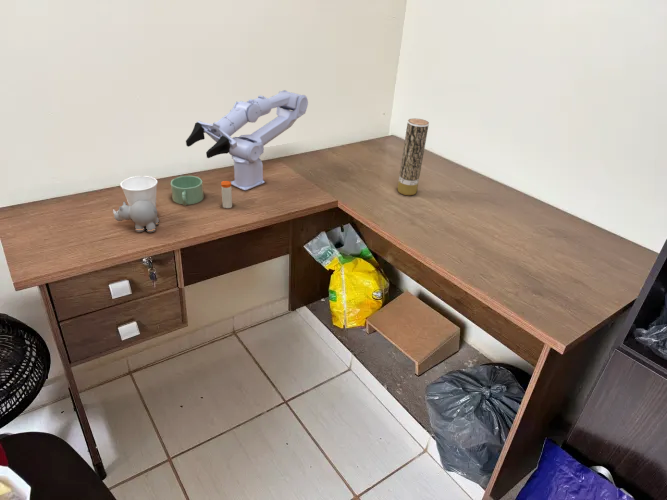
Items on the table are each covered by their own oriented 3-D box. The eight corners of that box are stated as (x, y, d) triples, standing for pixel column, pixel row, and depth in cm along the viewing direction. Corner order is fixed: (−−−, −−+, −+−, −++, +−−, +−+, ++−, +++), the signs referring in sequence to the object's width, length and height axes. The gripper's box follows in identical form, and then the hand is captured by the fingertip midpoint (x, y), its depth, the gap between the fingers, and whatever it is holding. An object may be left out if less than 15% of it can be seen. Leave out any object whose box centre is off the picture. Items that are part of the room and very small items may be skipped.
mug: (175, 190, 157) (173, 175, 154) (205, 191, 158) (204, 175, 155) (168, 208, 147) (166, 192, 144) (201, 208, 148) (199, 192, 145)
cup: (119, 219, 140) (112, 184, 134) (144, 206, 147) (139, 172, 141) (144, 228, 136) (138, 193, 130) (169, 214, 144) (165, 180, 138)
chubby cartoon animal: (121, 220, 139) (116, 193, 135) (163, 222, 140) (159, 196, 135) (111, 232, 133) (105, 205, 129) (155, 235, 133) (150, 208, 129)
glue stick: (227, 203, 152) (226, 179, 148) (234, 206, 151) (233, 182, 147) (220, 206, 150) (218, 182, 146) (227, 209, 149) (225, 185, 145)
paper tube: (416, 188, 171) (428, 119, 157) (416, 197, 165) (429, 126, 152) (397, 186, 171) (407, 117, 158) (397, 195, 165) (408, 124, 152)
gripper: (207, 105, 146) (176, 127, 139) (245, 126, 143) (215, 150, 135) (209, 123, 152) (179, 146, 144) (246, 144, 148) (217, 168, 141)
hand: (197, 149), depth 140 cm, fingers open, 7 cm apart
